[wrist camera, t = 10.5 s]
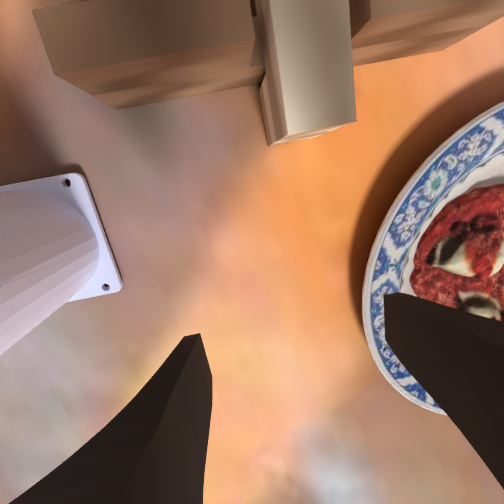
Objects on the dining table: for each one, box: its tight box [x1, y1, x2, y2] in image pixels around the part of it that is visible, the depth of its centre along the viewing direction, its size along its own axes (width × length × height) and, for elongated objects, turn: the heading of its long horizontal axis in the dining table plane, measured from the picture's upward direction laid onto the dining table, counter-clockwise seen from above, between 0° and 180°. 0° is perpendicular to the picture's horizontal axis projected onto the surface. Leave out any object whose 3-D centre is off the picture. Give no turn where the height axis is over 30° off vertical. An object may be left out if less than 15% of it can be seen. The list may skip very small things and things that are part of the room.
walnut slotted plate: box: [32, 0, 504, 109], centre depth 13 cm, size 20×2×6 cm, turn 100°
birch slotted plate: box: [249, 0, 357, 147], centre depth 13 cm, size 3×10×6 cm, turn 11°
